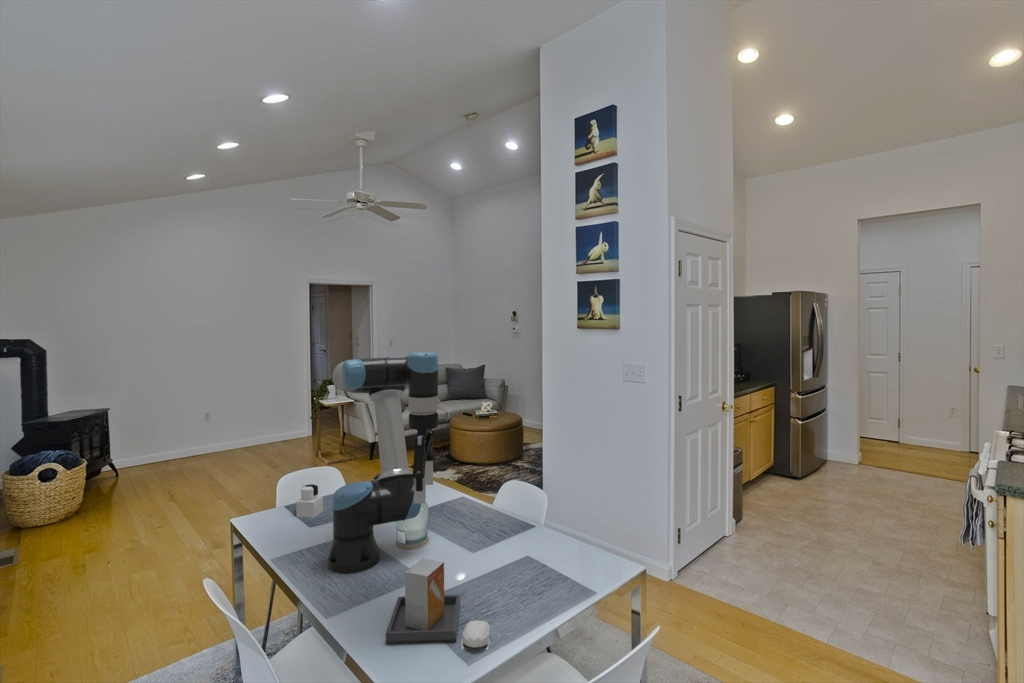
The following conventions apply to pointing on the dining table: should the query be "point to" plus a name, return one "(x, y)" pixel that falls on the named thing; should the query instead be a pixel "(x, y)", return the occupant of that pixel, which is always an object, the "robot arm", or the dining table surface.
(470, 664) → the dining table surface
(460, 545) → the dining table surface
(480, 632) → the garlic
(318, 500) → the medicine bottle
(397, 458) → the robot arm
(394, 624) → the holder
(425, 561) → the small box
